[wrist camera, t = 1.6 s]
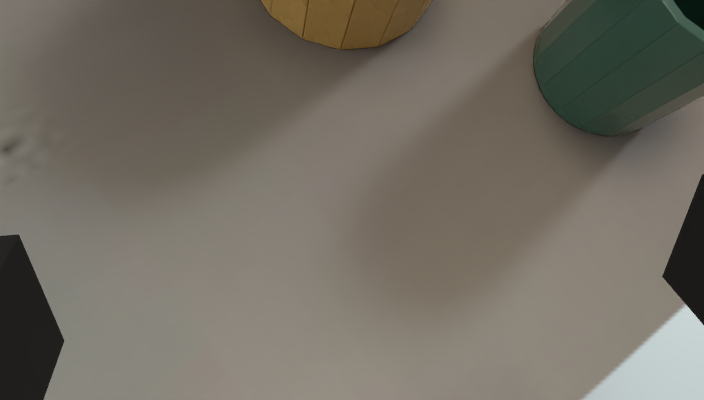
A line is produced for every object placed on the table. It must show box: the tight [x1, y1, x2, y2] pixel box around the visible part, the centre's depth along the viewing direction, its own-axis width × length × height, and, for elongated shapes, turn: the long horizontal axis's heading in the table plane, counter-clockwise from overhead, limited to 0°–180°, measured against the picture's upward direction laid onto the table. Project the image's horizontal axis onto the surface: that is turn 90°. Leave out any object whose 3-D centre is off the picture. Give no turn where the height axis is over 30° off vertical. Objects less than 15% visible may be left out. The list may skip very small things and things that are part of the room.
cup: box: [534, 0, 704, 136], centre depth 29 cm, size 8×8×10 cm
